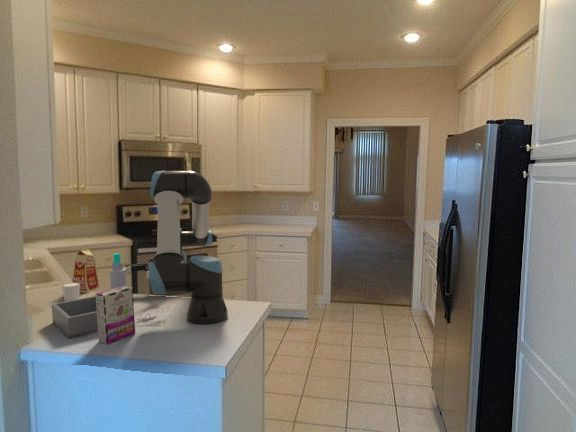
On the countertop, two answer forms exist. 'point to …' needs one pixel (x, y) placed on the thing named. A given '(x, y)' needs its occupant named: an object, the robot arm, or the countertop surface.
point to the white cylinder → (71, 291)
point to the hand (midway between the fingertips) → (133, 273)
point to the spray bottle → (117, 273)
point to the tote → (76, 317)
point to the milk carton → (85, 271)
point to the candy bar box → (115, 314)
